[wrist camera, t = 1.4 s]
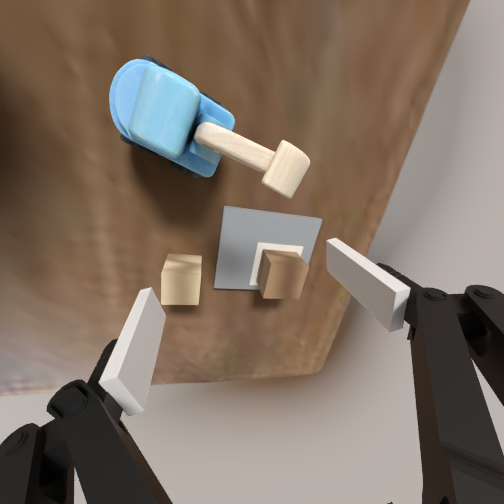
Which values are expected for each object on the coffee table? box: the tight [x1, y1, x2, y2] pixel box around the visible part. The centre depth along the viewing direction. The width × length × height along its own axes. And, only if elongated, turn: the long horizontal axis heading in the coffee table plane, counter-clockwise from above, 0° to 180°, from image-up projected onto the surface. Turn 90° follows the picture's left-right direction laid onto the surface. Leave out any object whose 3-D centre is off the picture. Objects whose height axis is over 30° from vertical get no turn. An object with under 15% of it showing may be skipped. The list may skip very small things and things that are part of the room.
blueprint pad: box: [214, 206, 322, 290], centre depth 36 cm, size 16×14×1 cm
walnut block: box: [256, 249, 309, 299], centre depth 34 cm, size 6×6×5 cm
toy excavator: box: [109, 54, 310, 199], centre depth 20 cm, size 9×17×17 cm, turn 62°
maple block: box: [161, 254, 202, 305], centre depth 32 cm, size 5×5×6 cm
